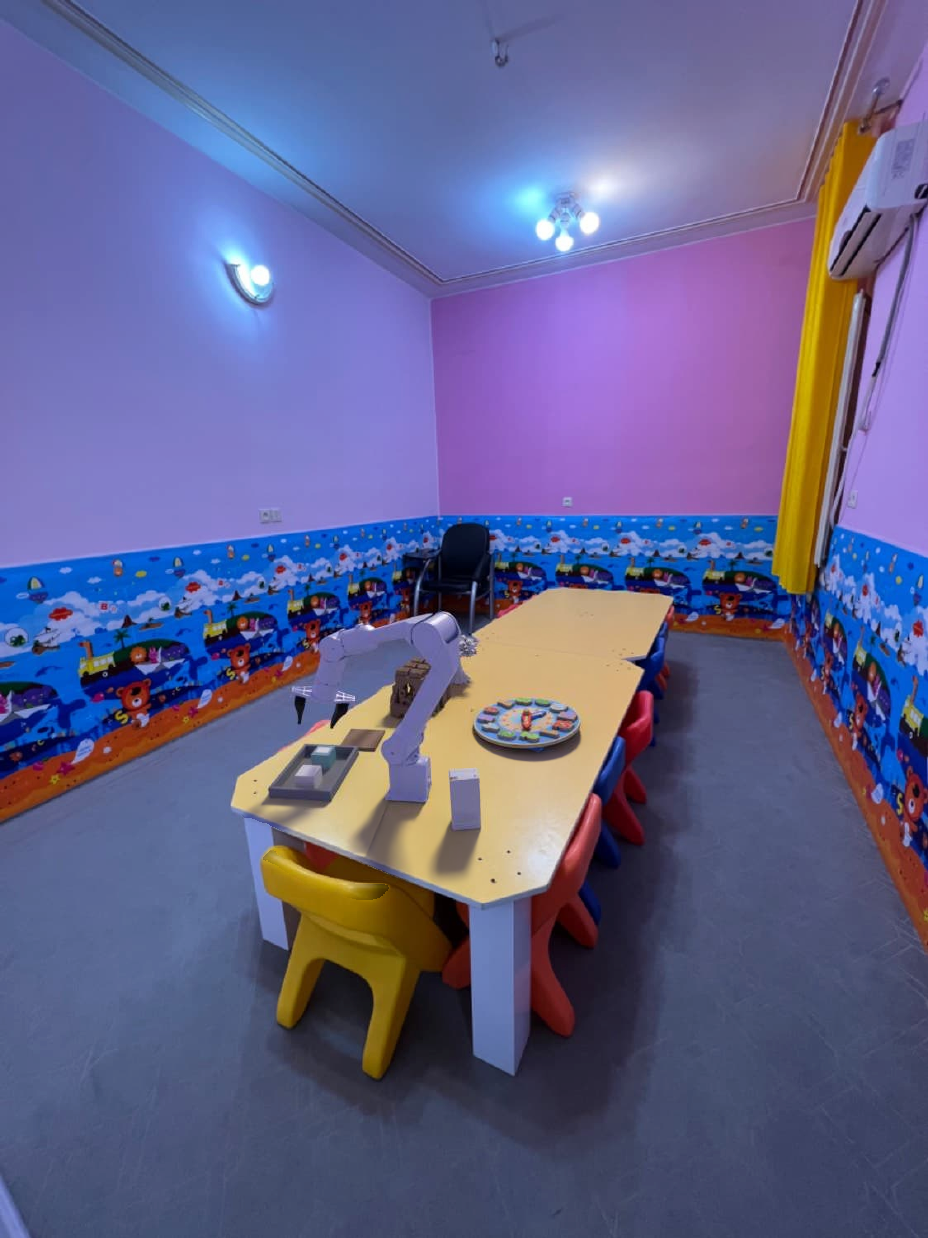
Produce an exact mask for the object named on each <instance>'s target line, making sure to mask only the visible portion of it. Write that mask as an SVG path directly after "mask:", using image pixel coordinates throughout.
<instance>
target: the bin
mask: <svg viewBox="0 0 928 1238" xmlns="http://www.w3.org/2000/svg"><path fill="white" fill-rule="evenodd" d="M318 745H321V746H335V751H336V761H335V763H334V764H333V766H332V767H331V769H330V770H323V769H322V778H323V781H322V782H321V784H320V785H319V787H318V788H317V789H315V788H296V782H295V775H296V773H297V772H298V771H299V769H300V768H301V767H302V766H303V765H312V760H311V754H312V753H313V751H314V750H315V749H316V747H317V746H318ZM359 756H360V750H359V747H358V746H347V745H340V744H323V743H322V744H320V743H317V744H316V743H304V744H303V745H302V746H301V748H300V749H298V752H297V753H296V754H295V755H294V756H293V758H292V759H290V761H289V762H288V764H287V765H286V766H285V767H284V768H283V770H282V771H281V772H280V773H279V774H278V776H277V777H276V778H275V779H274V780H273V781H272V783H270V786H268V788H267V791H268V797H269V798H270V799H280V800H281V799H283V800H299V801H301V800H302V801H313V802H314V801H317V802H318V801H319V802H333V800H334V798H335V796H336V794H337V793H338V791H339V789H340V788H341V786H342V784H343V782H344V781H345V779H346V778H347V776H348V774H349V773H350V770H351V769H352V767H354V764H355V762H356V761H357V759H358V757H359Z"/></svg>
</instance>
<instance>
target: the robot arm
mask: <svg viewBox="0 0 928 1238" xmlns="http://www.w3.org/2000/svg"><path fill="white" fill-rule="evenodd" d="M460 636H462V631H461V628H460V626H459V624H458V620H457V619H456V618H455V617H454V615H452V614H451V613H450V612H447V611H438V612H436V613H435V614H434V615H433V613H426V614H422V615H417V616H412V617H410V618H405V619H401V620H399V621H396V622H392V623H390V624H386V625H382V626H380V627H376V628H375V627H374V626H373V625H371V624H364V623H363V622H361V623H358V624H355V626H354V628H349V629H346V628H342V629H338V630H337V631H336V632H333V633H332V634H330V635H327V636H325V637H324V638H321V640H320V641H319V644H318V650H319V654H320V659H319V664H318V667H317V671H316V675H315V679H314V683H313V685H312V686H292V687H291V691H290V699H294V703H293V704H294V709H295V710H296V714H297V725H302V720H303V719H302V718H303V714H304V711H305V707H306V701H307V700H309V701H312V702H315V703H317V704H321V705H335V708H334V711H333V714H332V716H331V719H330V723H329V729H331V730H333V729H334V727H335V726H336V724H337V723H338V721H340V719H341V718H342V717H344V716H345V715H347V713H348V711H349V707H350V708H353V707H354V704H355V701H356V700H355V698H356V697H355V695H351V694H347V693H344V692H342V691H339V688H340V685H341V682H342V678H343V674H344V670H345V668H346V664H347V661H348V658H349V656H355V655H358V654H363V653H367V652H371V651H374V650H376V649H377V648H378V647H379V644H380V643H385V642H391V641H396V640H401V639H405V640H406V642H407V643H408V644H409V645H411V646H412V645H414V646H415V648H416V649H417V651H418V652H419V653H420V654H421V656H422V658H423V659H425V660H426V661H427V662H428V663H429V665H430V666H431V669H430V671H429V672H428V674H427V676H426V678H425V680H424V682H423V684H422V685H421V687H420V689H419V691H418V693H417V695H416V696H415V698H414V700H413V702H412V704H411V706H410V707H409V709H408V711H407V713H406V715H405V714H404V716H403V719H402V720H401V722H400V723H399V725H398V726H397V727H396V728H395V730H394V731H393V732H392V734H391V735H390V736H389V737H388V738H386V739H385V740H384V741H383V742H382V744H381V746H380V752H381V755H382V757H383V759H384V760H385V761H386V762H387V764H388V765H387V766H388V778H389V787H388V789H387V791H386V794H385V797H384V799H385V800H388V801H393V802H395V801H396V802H409V803H410V802H411V803H413V802H414V803H426V802H427V800H428V797H429V794H430V790H431V787H432V783H433V781H432V766H431V763H432V761H431V758H430V756H427V755H423V754H421V753H420V751H421V747H420V746H421V745H422V744H423V742H424V740H425V730H426V729H427V723H428V721H429V720H430V718H431V717H432V716H431V714H432V713H433V711H434V709H435V708H436V706H437V704H438V702H439V701H440V699H441V697H442V695H443V694H444V692H445V690H446V688H447V687H448V685H449V683H450V681H451V680H452V678H453V676H454V674H455V673H456V671H457V669H458V667H459V639H460ZM430 716H431V717H430Z"/></svg>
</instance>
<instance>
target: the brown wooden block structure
mask: <svg viewBox="0 0 928 1238" xmlns="http://www.w3.org/2000/svg"><path fill="white" fill-rule="evenodd" d="M430 669H431V666H430V665H429V663H428V662H427V661H426V660H425V658H424V657H415V656H414V657H412V659H411V660H410V661H405V663H404V664H403V666H398V667H397V668H396V671H395V673H394V684H393V685H392V686H391V690H392V692H391V695H390V699H389V713H390V714H389V716H390V718H391V719H395V720H398V719H400V718H401V717H405V715H406V713H407V711H408V709H409V707H410V706H411V704H412V702H413V700H414V698H415V696H416V695H417V693H418V691H419V689H420V687H421V685H422V684H423V682H424V680H425V678H426V676H427V674H428V672H429V671H430ZM451 692H452V689H451V684H450V683H449V685H448V687H447V688H446V690H445V692H444V694H443V695H442V697H441V699H440V701H439V702H438V704H437V706H436V707H435V709H434V711H433V713H432V714H431V716H430V718H431V717H432V716H433V715H434V714H435V713H440V708H443V709H444V708H445V706H446V704H447V703H448V701H449V700H450V699H451V698H452V696H451V695H452V693H451Z"/></svg>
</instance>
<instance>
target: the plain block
mask: <svg viewBox="0 0 928 1238" xmlns="http://www.w3.org/2000/svg"><path fill="white" fill-rule="evenodd" d="M322 781H323V778H322V769H321V766H317V765H303V766H302V767H301V768H300V769H299V771H298V772H297V773H296V775H295V782H296V788H315V789H317V788H318V787H319V785H320V784H321V782H322Z"/></svg>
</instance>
